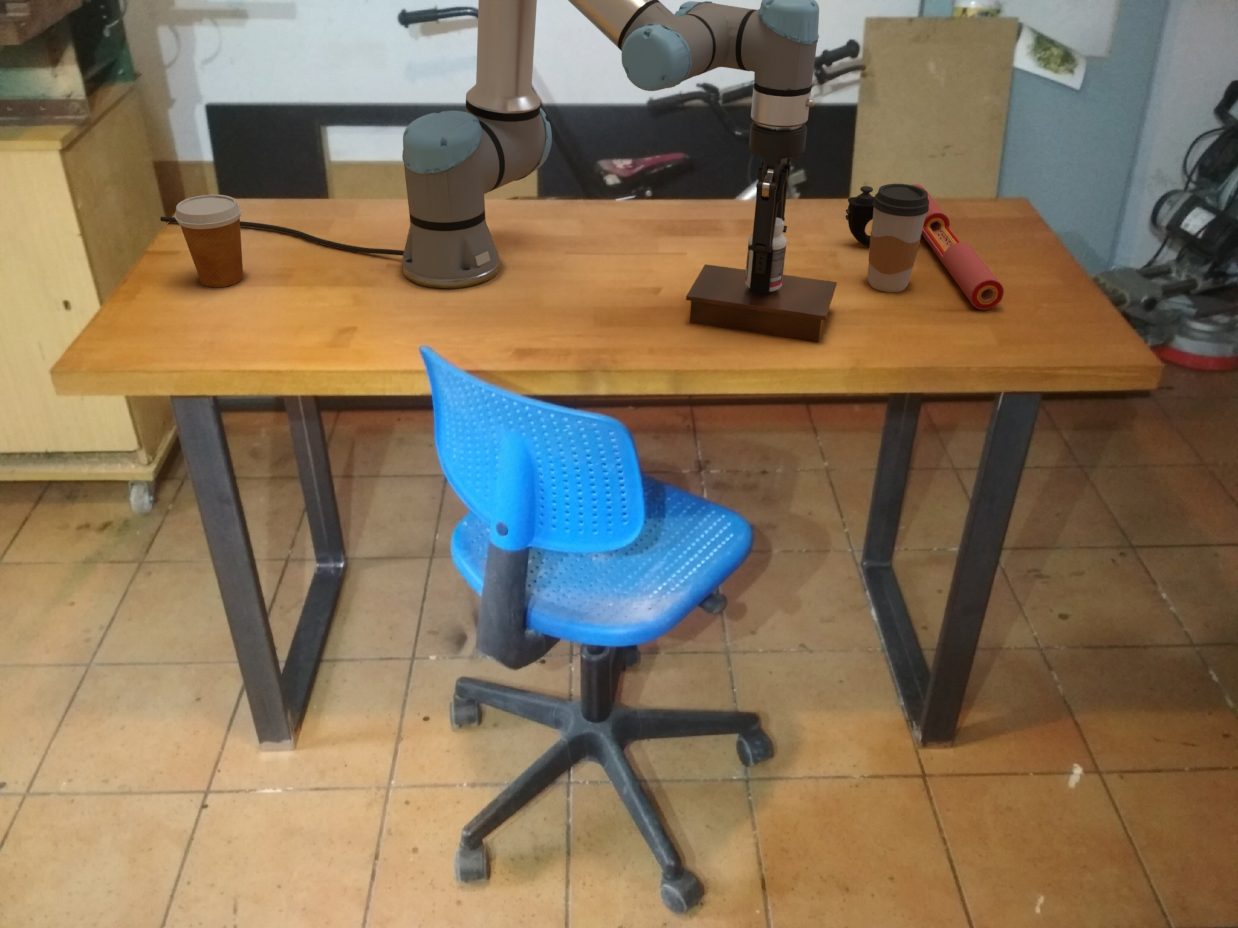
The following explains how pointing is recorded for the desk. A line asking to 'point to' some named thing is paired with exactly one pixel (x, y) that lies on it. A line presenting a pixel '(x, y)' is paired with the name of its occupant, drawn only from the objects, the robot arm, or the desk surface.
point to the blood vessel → (961, 259)
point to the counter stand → (760, 304)
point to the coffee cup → (895, 235)
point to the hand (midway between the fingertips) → (763, 283)
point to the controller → (860, 214)
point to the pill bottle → (778, 257)
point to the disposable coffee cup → (213, 237)
